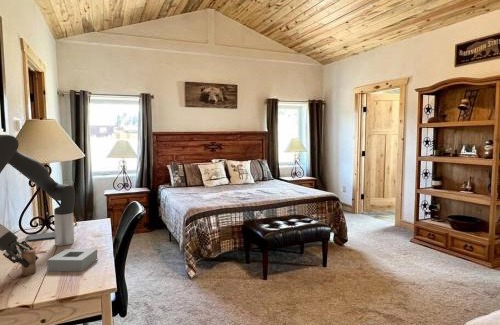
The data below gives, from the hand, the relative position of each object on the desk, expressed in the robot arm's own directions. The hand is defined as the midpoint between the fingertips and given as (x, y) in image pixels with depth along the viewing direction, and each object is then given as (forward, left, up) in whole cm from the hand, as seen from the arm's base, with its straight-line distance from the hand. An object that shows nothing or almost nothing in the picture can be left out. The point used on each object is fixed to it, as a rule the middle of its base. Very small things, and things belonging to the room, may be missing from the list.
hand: (32, 262), depth 141 cm
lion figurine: (-78, -28, -5) cm, 83 cm away
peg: (0, -2, -4) cm, 5 cm away
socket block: (-10, +12, -4) cm, 16 cm away
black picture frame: (-54, -28, -5) cm, 61 cm away
